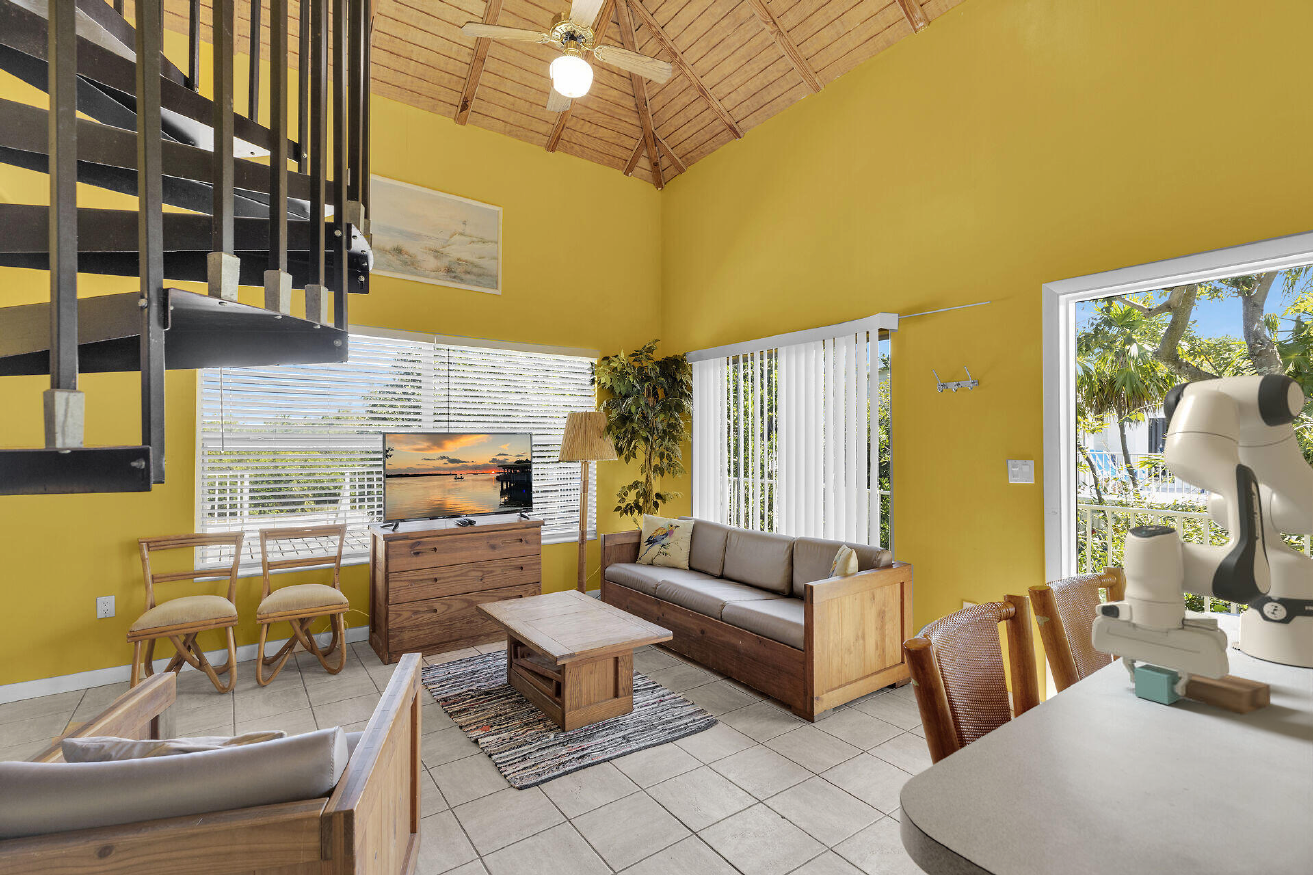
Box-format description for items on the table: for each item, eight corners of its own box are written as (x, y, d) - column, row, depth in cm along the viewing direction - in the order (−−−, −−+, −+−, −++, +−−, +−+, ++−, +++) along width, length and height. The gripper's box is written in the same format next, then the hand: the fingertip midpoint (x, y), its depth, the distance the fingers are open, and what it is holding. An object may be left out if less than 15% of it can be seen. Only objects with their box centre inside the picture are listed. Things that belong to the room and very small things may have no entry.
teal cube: (1148, 690, 117) (1147, 664, 117) (1180, 699, 113) (1179, 671, 113) (1135, 695, 115) (1134, 668, 115) (1167, 704, 110) (1166, 676, 111)
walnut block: (1202, 688, 120) (1202, 667, 120) (1270, 707, 111) (1269, 684, 111) (1174, 696, 116) (1173, 675, 116) (1242, 716, 107) (1241, 693, 107)
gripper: (1234, 623, 107) (1237, 704, 106) (1102, 600, 125) (1105, 669, 124) (1219, 628, 104) (1222, 711, 103) (1086, 604, 122) (1088, 674, 121)
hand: (1157, 688), depth 114 cm, fingers closed on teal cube, 5 cm apart
